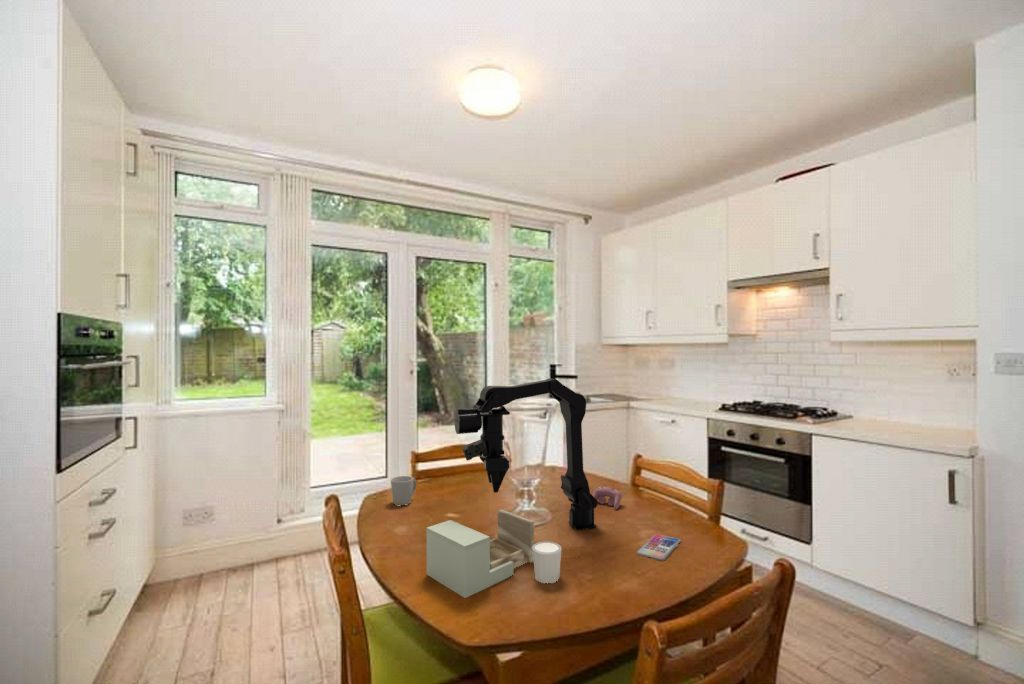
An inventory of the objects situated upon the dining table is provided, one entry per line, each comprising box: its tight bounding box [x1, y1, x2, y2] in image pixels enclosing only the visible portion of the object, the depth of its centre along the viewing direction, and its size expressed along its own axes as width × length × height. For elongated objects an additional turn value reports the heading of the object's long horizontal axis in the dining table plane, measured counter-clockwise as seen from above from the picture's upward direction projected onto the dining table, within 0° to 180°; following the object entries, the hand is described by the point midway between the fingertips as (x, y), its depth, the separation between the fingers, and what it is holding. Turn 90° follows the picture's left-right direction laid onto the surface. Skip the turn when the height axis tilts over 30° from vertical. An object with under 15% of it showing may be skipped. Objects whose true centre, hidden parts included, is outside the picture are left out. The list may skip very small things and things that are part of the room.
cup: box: [390, 475, 417, 506], centre depth 161 cm, size 8×10×8 cm
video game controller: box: [591, 486, 622, 510], centre depth 156 cm, size 10×5×7 cm, turn 58°
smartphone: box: [636, 533, 682, 562], centre depth 123 cm, size 7×1×15 cm
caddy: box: [426, 519, 515, 599], centre depth 109 cm, size 14×15×11 cm
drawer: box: [490, 509, 535, 570], centre depth 115 cm, size 14×12×10 cm
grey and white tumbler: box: [532, 541, 562, 585], centre depth 107 cm, size 7×7×7 cm
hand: (493, 487), depth 129 cm, fingers open, 9 cm apart
